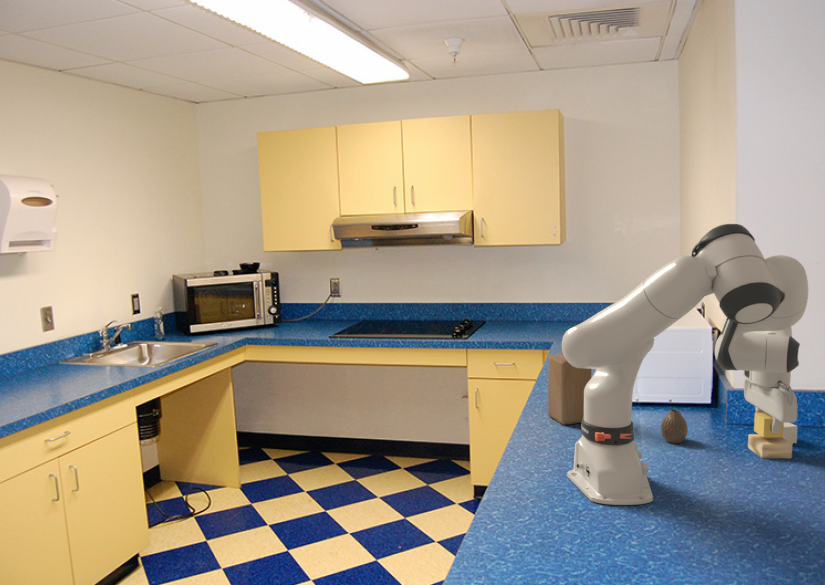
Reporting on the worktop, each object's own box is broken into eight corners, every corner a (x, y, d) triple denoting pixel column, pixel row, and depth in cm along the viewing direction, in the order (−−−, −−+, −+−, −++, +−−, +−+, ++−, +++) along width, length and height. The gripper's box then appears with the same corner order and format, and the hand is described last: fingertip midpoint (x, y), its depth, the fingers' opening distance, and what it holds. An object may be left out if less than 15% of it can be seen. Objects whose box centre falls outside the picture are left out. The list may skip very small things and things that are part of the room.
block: (562, 426, 192) (563, 361, 190) (547, 416, 202) (547, 354, 200) (592, 422, 195) (592, 358, 193) (575, 412, 205) (575, 351, 202)
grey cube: (796, 443, 174) (797, 425, 174) (781, 445, 173) (782, 427, 173) (782, 437, 179) (782, 420, 179) (767, 439, 178) (767, 421, 178)
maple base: (791, 459, 164) (792, 444, 164) (761, 459, 165) (762, 444, 164) (776, 448, 172) (777, 434, 171) (747, 448, 172) (748, 434, 172)
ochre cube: (783, 437, 165) (784, 418, 165) (763, 437, 166) (764, 418, 165) (773, 430, 170) (773, 412, 170) (753, 430, 171) (754, 412, 170)
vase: (665, 434, 183) (666, 405, 182) (690, 439, 179) (691, 409, 178) (657, 441, 178) (657, 411, 177) (682, 447, 174) (683, 415, 173)
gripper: (806, 387, 156) (803, 442, 157) (763, 367, 176) (761, 415, 178) (779, 387, 156) (777, 442, 158) (740, 367, 176) (738, 416, 178)
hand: (768, 428), depth 168 cm, fingers closed on ochre cube, 5 cm apart
